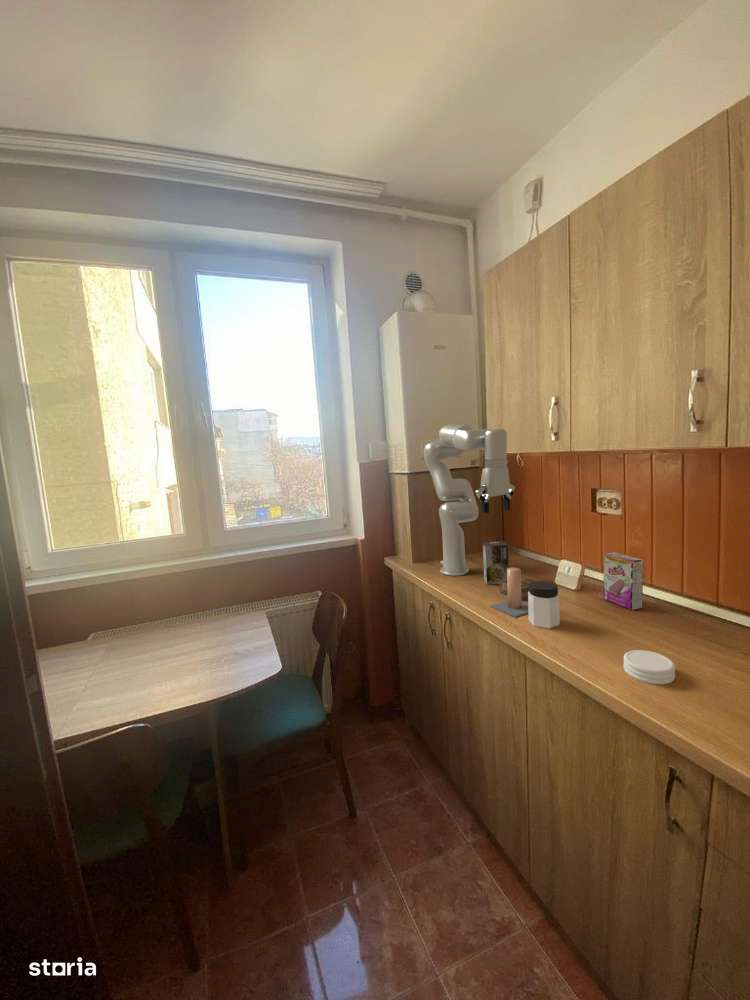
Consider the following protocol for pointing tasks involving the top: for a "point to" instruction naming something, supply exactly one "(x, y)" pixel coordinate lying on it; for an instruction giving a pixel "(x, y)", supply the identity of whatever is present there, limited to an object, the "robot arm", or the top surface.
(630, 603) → the candy bar box
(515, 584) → the peg
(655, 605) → the top surface
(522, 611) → the mat
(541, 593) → the jar
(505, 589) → the brown square box
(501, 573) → the coffee box
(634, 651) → the coaster
